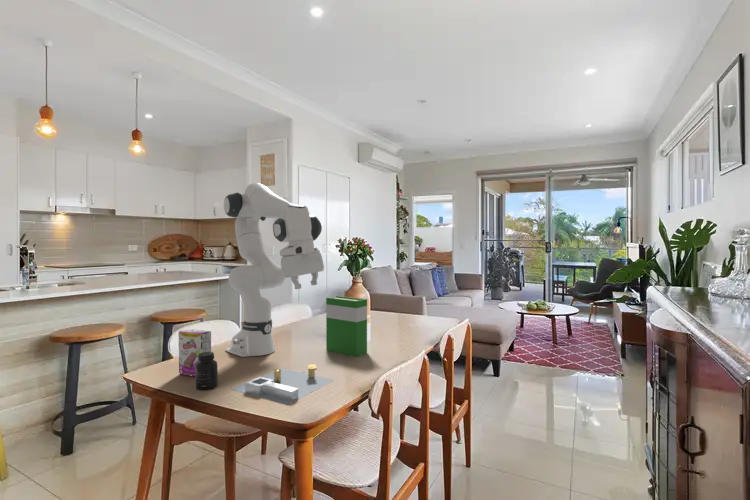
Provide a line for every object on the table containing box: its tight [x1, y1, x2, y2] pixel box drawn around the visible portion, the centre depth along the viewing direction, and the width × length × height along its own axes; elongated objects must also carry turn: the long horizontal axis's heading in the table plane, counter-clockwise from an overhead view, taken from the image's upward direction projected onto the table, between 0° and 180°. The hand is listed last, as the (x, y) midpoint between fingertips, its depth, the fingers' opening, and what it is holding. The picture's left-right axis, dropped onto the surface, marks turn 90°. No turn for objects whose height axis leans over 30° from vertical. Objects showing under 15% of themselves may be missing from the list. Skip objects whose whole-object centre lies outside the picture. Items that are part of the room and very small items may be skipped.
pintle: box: [273, 368, 281, 384], centre depth 134 cm, size 2×2×4 cm
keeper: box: [306, 363, 318, 378], centre depth 138 cm, size 3×5×4 cm, turn 15°
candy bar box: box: [178, 328, 212, 377], centre depth 144 cm, size 11×5×16 cm, turn 71°
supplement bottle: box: [195, 351, 219, 392], centre depth 130 cm, size 7×7×12 cm
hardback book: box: [325, 295, 368, 358], centre depth 174 cm, size 18×7×24 cm, turn 54°
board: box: [230, 367, 335, 406], centre depth 132 cm, size 25×24×1 cm
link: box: [244, 376, 299, 402], centre depth 124 cm, size 18×6×3 cm, turn 60°
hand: (306, 286), depth 140 cm, fingers open, 8 cm apart
